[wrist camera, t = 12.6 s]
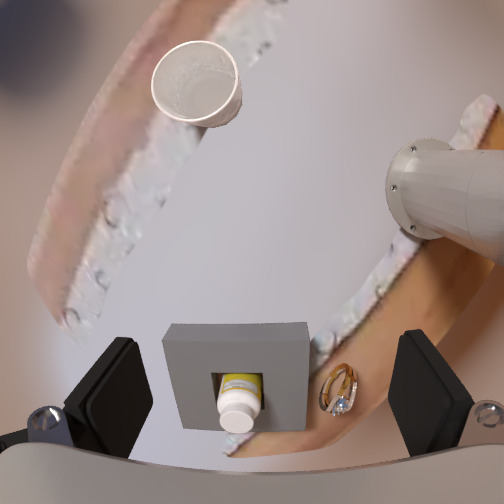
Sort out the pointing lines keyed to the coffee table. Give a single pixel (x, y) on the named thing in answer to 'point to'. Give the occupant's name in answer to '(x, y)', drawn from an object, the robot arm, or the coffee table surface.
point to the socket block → (240, 371)
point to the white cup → (198, 84)
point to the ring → (340, 404)
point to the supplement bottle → (239, 401)
